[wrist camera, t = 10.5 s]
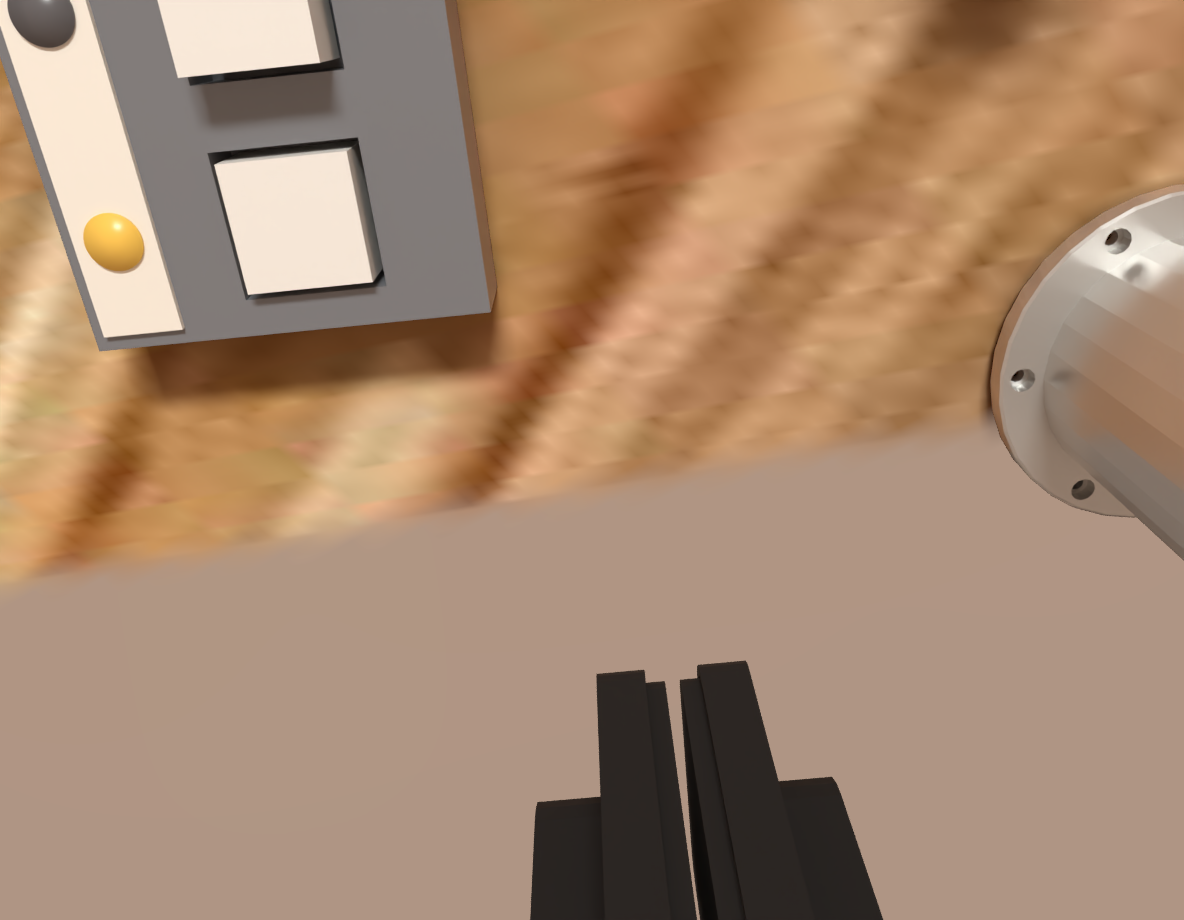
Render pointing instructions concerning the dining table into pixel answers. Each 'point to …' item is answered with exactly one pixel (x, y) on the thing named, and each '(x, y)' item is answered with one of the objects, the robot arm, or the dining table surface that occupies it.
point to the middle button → (247, 34)
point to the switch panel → (235, 125)
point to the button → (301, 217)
